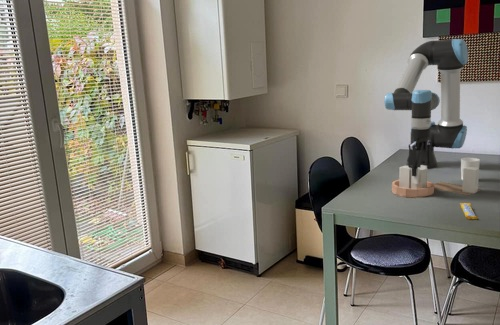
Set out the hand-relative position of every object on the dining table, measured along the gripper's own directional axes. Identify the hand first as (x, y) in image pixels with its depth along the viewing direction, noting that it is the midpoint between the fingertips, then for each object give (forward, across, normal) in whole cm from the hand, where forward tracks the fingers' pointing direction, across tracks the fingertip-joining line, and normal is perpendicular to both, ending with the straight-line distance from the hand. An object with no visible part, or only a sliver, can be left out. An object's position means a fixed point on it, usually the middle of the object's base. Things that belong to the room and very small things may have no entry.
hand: (419, 181), depth 194 cm
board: (+5, +15, -7) cm, 17 cm away
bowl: (+5, 0, +3) cm, 6 cm away
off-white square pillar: (+5, +15, -14) cm, 21 cm away
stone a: (+5, 0, +6) cm, 8 cm away
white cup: (+6, +33, -5) cm, 34 cm away
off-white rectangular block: (+4, 0, 0) cm, 4 cm away
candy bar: (+6, -9, -26) cm, 28 cm away
